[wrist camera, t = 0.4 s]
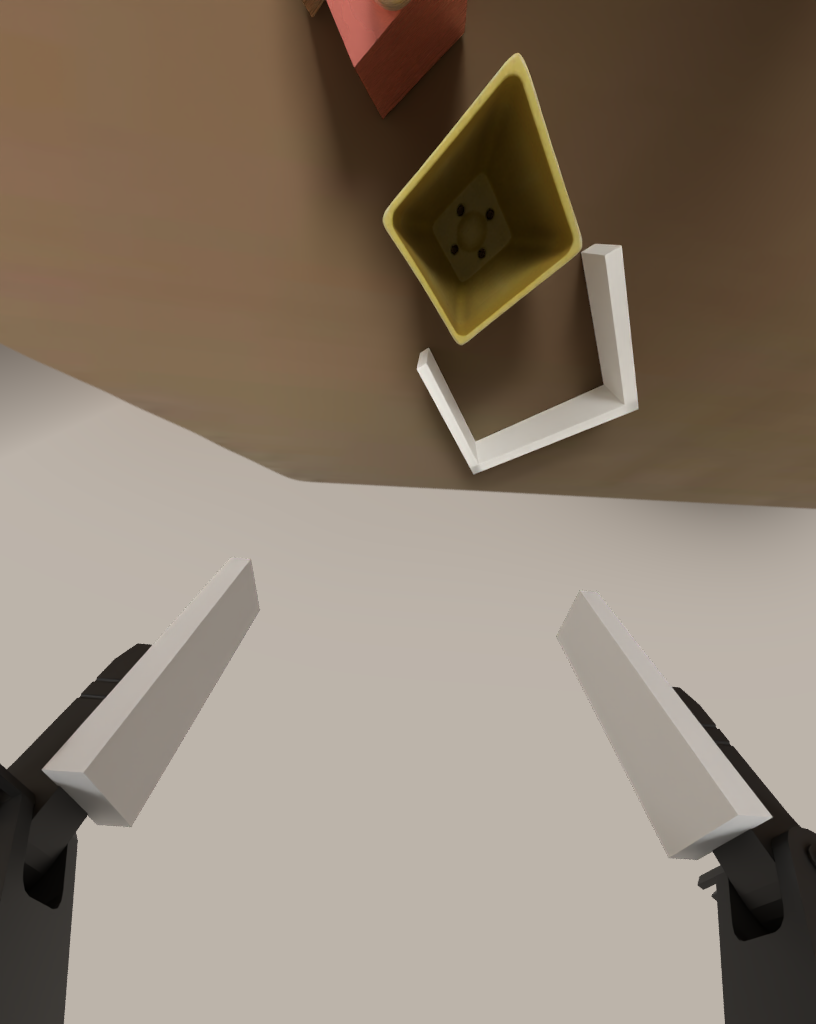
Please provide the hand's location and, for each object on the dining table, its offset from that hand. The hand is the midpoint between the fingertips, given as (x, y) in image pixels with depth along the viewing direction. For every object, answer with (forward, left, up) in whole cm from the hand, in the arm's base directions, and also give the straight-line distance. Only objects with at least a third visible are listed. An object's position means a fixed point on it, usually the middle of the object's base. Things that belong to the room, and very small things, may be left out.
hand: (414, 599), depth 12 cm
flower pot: (-8, -8, -27) cm, 29 cm away
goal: (-8, +3, -27) cm, 28 cm away
